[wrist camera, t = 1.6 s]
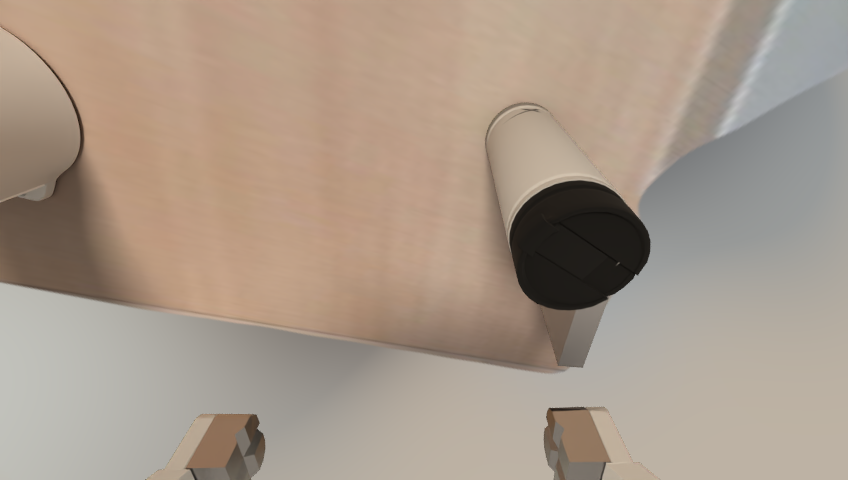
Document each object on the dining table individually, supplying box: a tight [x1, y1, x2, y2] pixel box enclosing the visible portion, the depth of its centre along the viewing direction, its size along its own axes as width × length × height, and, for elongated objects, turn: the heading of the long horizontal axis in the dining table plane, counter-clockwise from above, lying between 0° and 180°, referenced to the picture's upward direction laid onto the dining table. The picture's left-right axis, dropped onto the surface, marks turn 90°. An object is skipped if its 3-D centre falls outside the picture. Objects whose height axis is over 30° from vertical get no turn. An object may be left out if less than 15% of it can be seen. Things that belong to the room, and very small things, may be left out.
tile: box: [541, 296, 609, 367], centre depth 35 cm, size 2×10×12 cm, turn 177°
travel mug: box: [486, 103, 650, 310], centre depth 27 cm, size 6×7×20 cm
